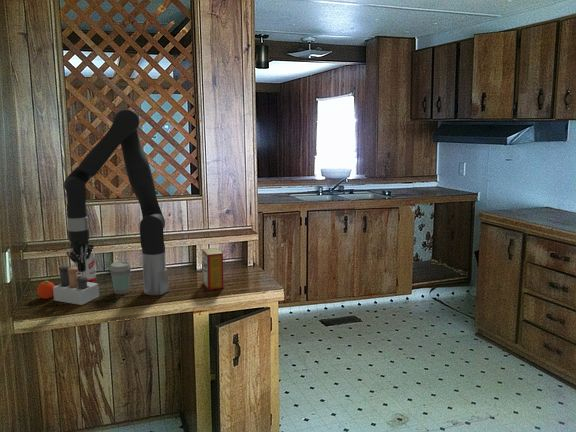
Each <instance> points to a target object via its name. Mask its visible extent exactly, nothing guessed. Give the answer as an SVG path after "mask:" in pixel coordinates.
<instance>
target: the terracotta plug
mask: <svg viewBox="0 0 576 432" xmlns="http://www.w3.org/2000/svg"><path fill="white" fill-rule="evenodd" d="M68 272H69V283H70V288H77V287H79V286H78V281H77V278H79V276H78V274H79V273H78V272H79V271H78V266H77V267H76V266H72V267H69V268H68Z"/></svg>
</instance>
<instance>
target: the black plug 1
mask: <svg viewBox="0 0 576 432" xmlns="http://www.w3.org/2000/svg"><path fill="white" fill-rule="evenodd" d="M68 268H70V266H68V265H62V266H59V267H58V270H59V275H60V284H61V286H62V287H67V286H69V285H70V283H69V272H68Z"/></svg>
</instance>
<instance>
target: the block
mask: <svg viewBox="0 0 576 432" xmlns="http://www.w3.org/2000/svg"><path fill="white" fill-rule="evenodd" d="M53 293H54V296H53V301H55V302H62V303H68V304H74V305H80V306H82V305H85V304H88V303H89V302H91V301H93V300H95V299H97V298H99V297H100V287H99V283H96V282H94V283H91V282H87V288H86V289H84V290H82V289H79V287H77V288H70V285H69V286H67V287H62V286H61V283H60V284H57V285H55V287H53Z"/></svg>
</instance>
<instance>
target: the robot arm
mask: <svg viewBox="0 0 576 432" xmlns="http://www.w3.org/2000/svg"><path fill="white" fill-rule="evenodd" d="M139 125H140V117H139V116H138V113H136V112H135V111H133V110H132V109H128V108H127V109H121V110H119V111H117V112H116V113H115V114H114V115H113V118H112V124H111V126H110V128H109V129H108V130H107V132H106V133H105V134H104V136H103V137H102V138H101V139H100V140H99V141H98V142H97V144H96V145H94V146H93V148H91V150H89V152H87V154H86V155H85V157H84V158H83V159H82V161H80V163H79V165H78V166H77V167H76V168H75V169H73V171H72V172H70V173H69V175H68V176H67V177H66V178H65V180H64V182H63V189H64V190H65V192H66V200H67V201H66V202H67V203H66V215H67V223H66V224H67V234H68V241H69V242H70V250H69V251H66V256H68V257H69V259H70V260H71V261H72V262H73V263H77V268H78V271H77V272H79V273H81V272H84V271H86V264H85V262H86V260H87V259H89V257H90V254H91V252H92V249H94V244H90V242H89V240H90V227H89V220H88V212H87V204H86V203H87V186H86V184H87V183H88V182H89V181H90V179H91V178H95V176H96V175H97V174H98V173H99V171H100V170H101V169H102V168H103V166H104V165H105V164H106V163H107V161H108V160H109V159H110V158H111V156H112V155H113V154H114V152H115V150H116V149H117V148H118V147H119V146H121V150H122V156H123V157H122V158H123V162H124V167H125V170H126V175H127V178H128V182H129V185H130V187H131V189H132V191H133V193H134V195H135V198H137V200H138V203H139V206H140V212H141V217H142V218H141V220H140V223H139V236H140V237H139V238H140V247H141V253H142V255H141V257H142V273H143V275H142V277H143V293H144V294H145V295H148V296H162V295H164V294H165V293H167V292H170V289H169V288H170V286H169V268H167V265H166V263H167V261H166V245H165V238H164V237H165V235H164V234H165V233H164V229H165V227H166V219H165V218H164V216H163V215H164V214H163V212H162V209H161V207H160V206H161V205H160V204H159V201H158V198H157V192H156V187H155V183H154V178H153V173H152V170H151V166H150V163H149V160H148V158H147V155H146V154H145V152H144V150H143V147H142V146H141V143H140V139H139V134H138V128H139ZM87 253H88V254H87Z"/></svg>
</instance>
